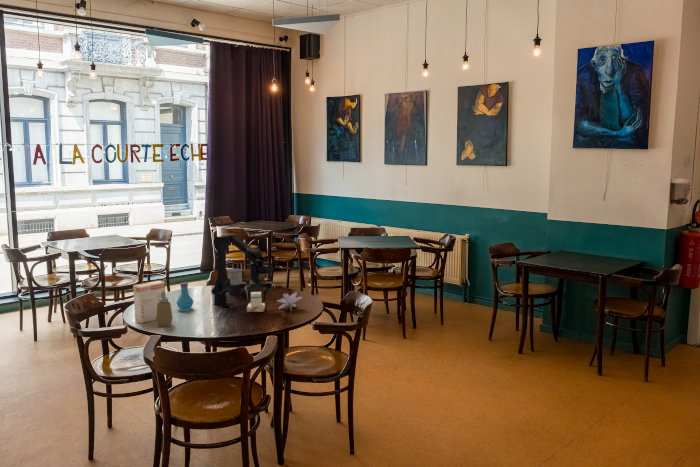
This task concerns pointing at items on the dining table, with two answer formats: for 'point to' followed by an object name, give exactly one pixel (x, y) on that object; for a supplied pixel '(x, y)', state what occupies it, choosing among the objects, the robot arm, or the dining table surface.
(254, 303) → the teal-striped cream cube
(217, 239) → the robot arm
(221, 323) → the dining table surface
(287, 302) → the water lily
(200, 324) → the dining table surface
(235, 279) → the milk frother
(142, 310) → the coffeecake box
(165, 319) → the squeeze bottle
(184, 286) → the perfume bottle
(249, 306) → the block
